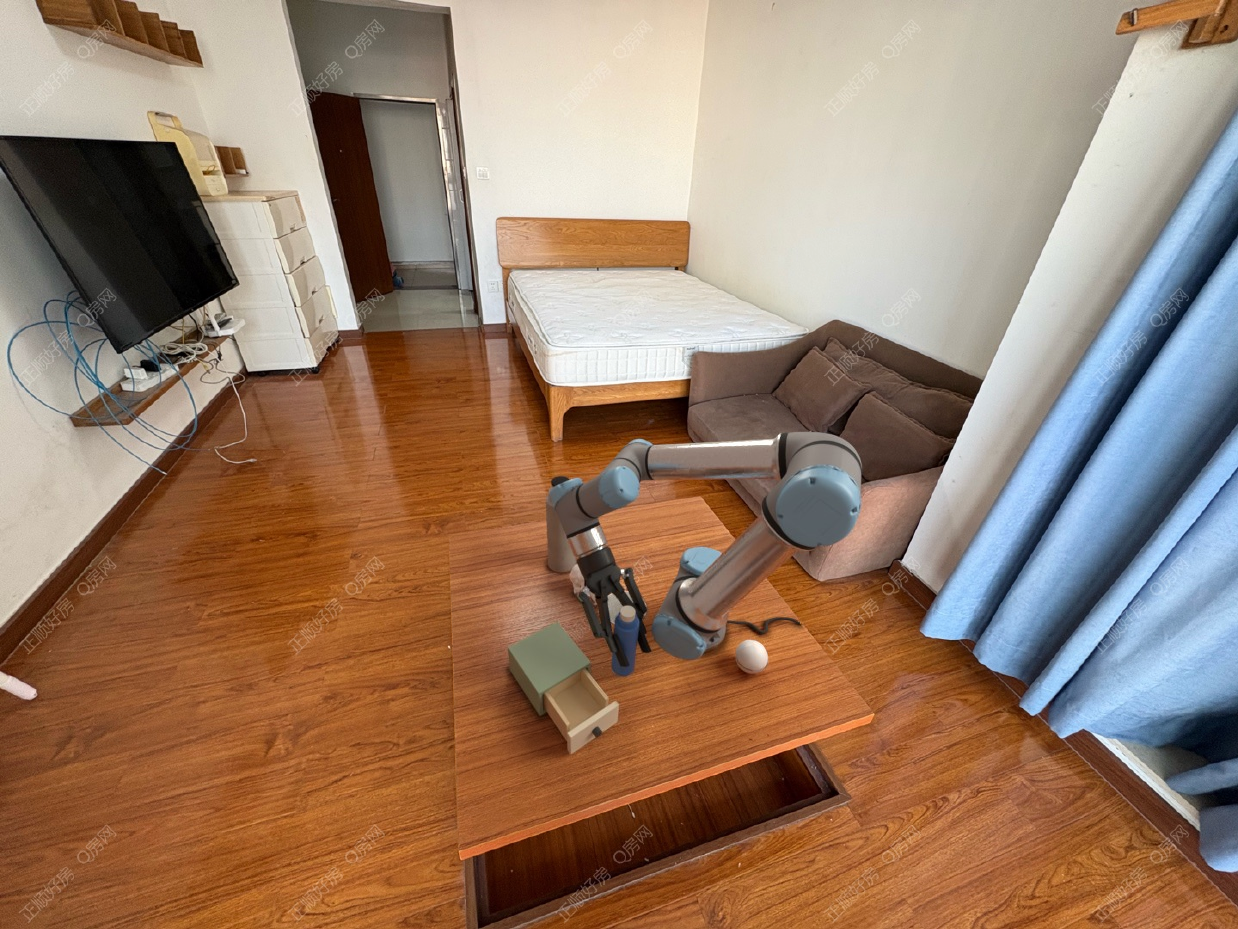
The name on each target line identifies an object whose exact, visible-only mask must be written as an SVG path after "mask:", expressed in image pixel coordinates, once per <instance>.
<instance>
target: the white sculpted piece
mask: <svg viewBox="0 0 1238 929" xmlns="http://www.w3.org/2000/svg"><path fill="white" fill-rule="evenodd" d="M568 576H569V580H570V582H572V586H573V593H574V595H575V594H576V593H577V592H580V591H581V590H582V589H583V587H584V578H583V576H582V574H581V572H580V569H579V567H578V564H577V563H576V564H575V566H574V567H573V568H572V569H571V570H570V573H569V574H568ZM589 594H590V597H589V598H590V599H592V600H593V602H592V604H593V605H594V606H597V603H596V600H595V594H593V593H592V592H590V591H589Z"/></svg>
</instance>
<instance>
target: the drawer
mask: <svg viewBox="0 0 1238 929" xmlns="http://www.w3.org/2000/svg"><path fill="white" fill-rule="evenodd" d="M542 696H543V707H544V708H545V710H546V711H547V712H546V713H547V715H548V716H549V717H550V719H551V720H552V721H553V723H554V725H555V726H556V728H557V729H558V731H559V732H560V734H561V735H562V737H563V738H564V739H565V741H566V742H567V744H566V745H567V750H566V751H568V753H569V755H572V754H574V753H575V752H577V751H578V750H580V749H581V748H583V747H584V746H585V745H587V744H588V743H590V742H591V741H593V740H594V739H595V738H599V737H600V736H601V735H602V734H603V733H604V732H605V731H607V730H608V729H610V728H611V727H612V726H614V725H615V724H617V723H618V722H619V721H618V720H619V712H620V711H619V710H620V704H619V703H618V701H617V700H614V701H613V702H611V703H610V702H609V701H610V698H609V696H608V695H607V693H605V691H604V690H603V689H602V687H601V686H600V684H598V682H597V681H596V680H595V679H594V677H593V676H592V675H590V674H589V672H588V671H587V670H586V669H583V670H581V671H580V672H578V673H576V674H575V675H573V676H572V677H570V678H568V679H567V680H565V681H563V682H562V683H560V684H558V685H557V686H555V687H553V688H552V689H550V690H548V691H547V692H545V693H543V694H542Z"/></svg>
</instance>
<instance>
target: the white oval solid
mask: <svg viewBox="0 0 1238 929" xmlns="http://www.w3.org/2000/svg"><path fill="white" fill-rule="evenodd" d="M734 659H735V662H736V664H737V666H738V667H739V669H740V670H741V671H743V672H745V673H747V674H750V675H755V674H759V673H761V672H763V671H764V670H765V671H767V672H768V673H770V674H772V675H774V676H775V674H774V673H772V672H770V671H769V670H767V669H766V667H767V666H768V664H769V654H768V652H767V650H766V647H765V646H764V645H763V644H762V643H760V642H759V641H757V640H755V639H745V640H743V641H741V642H740V643H739V644H738V645H737V647H736V649H735V653H734Z"/></svg>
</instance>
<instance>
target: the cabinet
mask: <svg viewBox="0 0 1238 929" xmlns="http://www.w3.org/2000/svg"><path fill="white" fill-rule="evenodd" d="M507 656H508V667H509V671H510V673H511V674H512V675H513V677H514V679H515V681H516V682H517V683H518V685H519V686H520V688H521V690H522V691H523V693H524V694H525V695H526V697H527V699H528V700H529V702H530V704H531V705H532V706H533V708H534V709H535V711H536V712H537V714H538V716H539V717H541V716H543V715H545V714H546V713H547V711H546V710H545V708H544V707H543V696H542V694H543V693H545V692H547V691H548V690H550V689H552V688H553V687H555V686H557V685H558V684H560V683H562V682H563V681H565V680H567V679H568V678H570V677H572V676H573V675H575V674H576V673H578V672H580V671H581V670H583V669H586V670H587V671H588V672H589V674H590V675H591V673H592V672H591V671H592V662H591V661H590V659H589V658H588V657H587V656H586V654H585V653H584V652H583V651H582V649H581V648H580V647H579V646H578V644H577V643H576V642H575V641H574V640H573V639H572V638H571V636H570V634H568V632H567V631H566V630H565V629H564V627H563V626H562V625H561V624H560V623H559V621H555V622H553V623H551V624H550V625H547V626H546V627H543V628H542V629H540V630H538V631H536V632H534V633H532V634H530V635H528V636H527V637H524V638H523V639H521V640H519V641H517V642H515V643H513V644H511V645H509V646H508V647H507ZM591 676H592V675H591Z"/></svg>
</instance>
